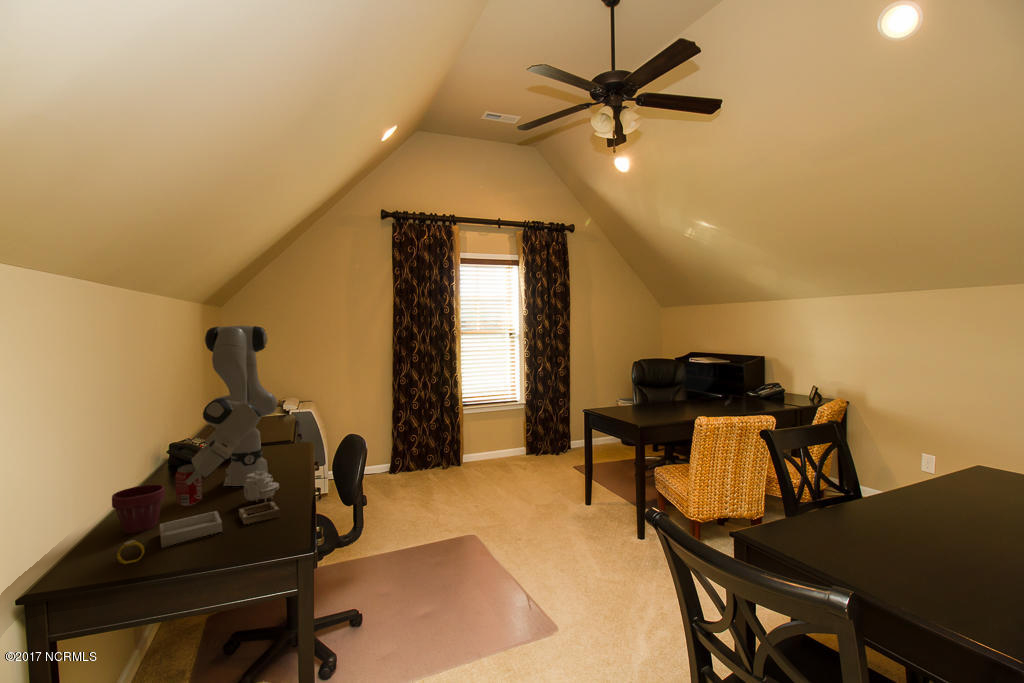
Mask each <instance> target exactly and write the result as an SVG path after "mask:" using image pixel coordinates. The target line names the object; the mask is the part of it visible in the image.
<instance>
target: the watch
mask: <svg viewBox="0 0 1024 683" xmlns="http://www.w3.org/2000/svg"><path fill="white" fill-rule="evenodd" d="M131 546H138V547H139V549H141V553H140V554H141V555H140V556H138V558H137V559H131V560H125V559H124V558H122V556H121V552H122V549H124V548H125V547H127V548H128V547H131ZM144 554H145V546H144V545H143V544H142V543H141V542H140V541H139V542H138V541H137V540H136V539H133V540H132V539H131V540H128V541H125V542H124V543H123V545H121V547H120V548H119V550H118V551H117V553H116V559H117V560H118V562H119V563H121V564H123V565H128V564H132V563H137V562H139V561H140V560H141V559H142V558H143V556H144Z"/></svg>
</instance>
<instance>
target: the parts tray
mask: <svg viewBox="0 0 1024 683" xmlns="http://www.w3.org/2000/svg"><path fill="white" fill-rule="evenodd" d="M218 532H223V522H222V519H221V517H220V514H219V512H218V510H215V511H210V512H206V513H201V514H197V515H193V516H189V517H184V518H181V519H175V520H171V521H166V522H163V523H160V524H159V536H160V547H161V549H163V548H167V546H168V547H171V546H170V545H172V546H174V545H173V544H176V543H179V542H183V541H186V540H190V539H194V538H198V537H202V536H206V535H209V534H214V533H218ZM176 545H177V544H176Z"/></svg>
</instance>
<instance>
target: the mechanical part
mask: <svg viewBox="0 0 1024 683" xmlns="http://www.w3.org/2000/svg"><path fill="white" fill-rule="evenodd" d="M268 474H269V472H268V473H266V472H265V471H261V472H260V473H259V471H255V473H251V474H249V475H247V480H246V483H244V487H243V496H244V498H245V499H246V500H247V501H251V502H253V501H255V503H256V502H259V500H262V499H263V500H264V503H267V499H268V498H270V499H271V500H273V499H274V498H273V496H274V495H275V492H276V491H278V490H279V489H280V483H279V482H275V481H274V478H273V477H272V478H271V477H270V478H268V477H267V476H268ZM266 477H267V478H266ZM254 479H255V481H254ZM258 499H259V500H258Z"/></svg>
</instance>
